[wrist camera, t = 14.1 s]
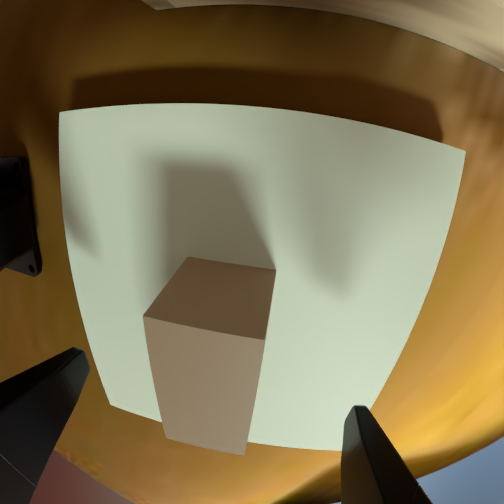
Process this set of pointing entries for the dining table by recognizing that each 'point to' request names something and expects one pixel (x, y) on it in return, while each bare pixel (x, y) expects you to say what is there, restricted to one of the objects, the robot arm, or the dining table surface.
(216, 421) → the lid
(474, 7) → the beige rectangular tray
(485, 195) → the dining table surface
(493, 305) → the dining table surface
